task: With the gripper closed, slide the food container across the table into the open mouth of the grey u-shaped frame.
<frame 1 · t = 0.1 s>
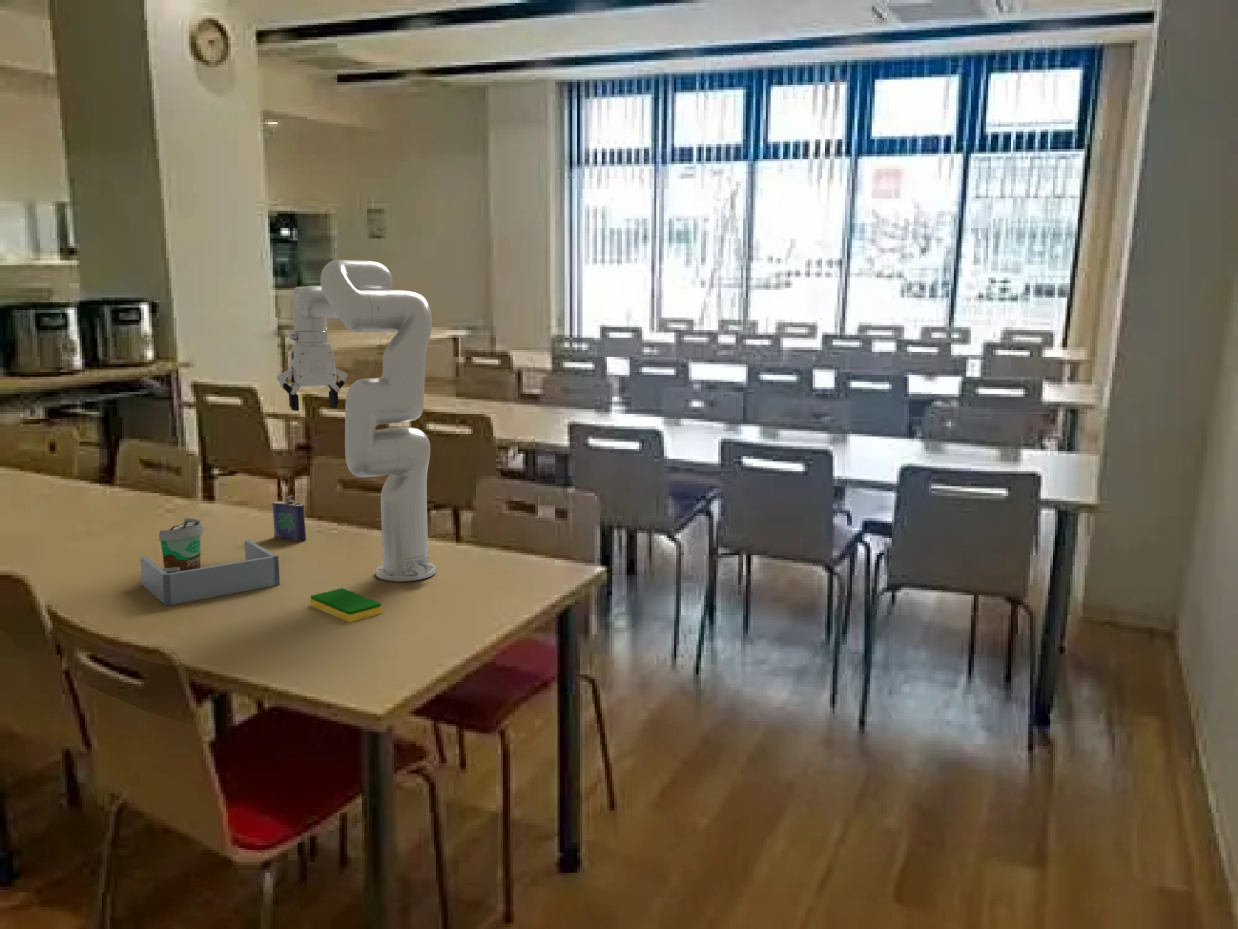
hand: (314, 409, 236), 31 cm above the table, fingers open, 9 cm apart
dish sponge: (346, 612, 184), on the table
grey u-shaped frame: (210, 584, 199), on the table
flask: (290, 539, 235), on the table
food container: (189, 570, 209), on the table
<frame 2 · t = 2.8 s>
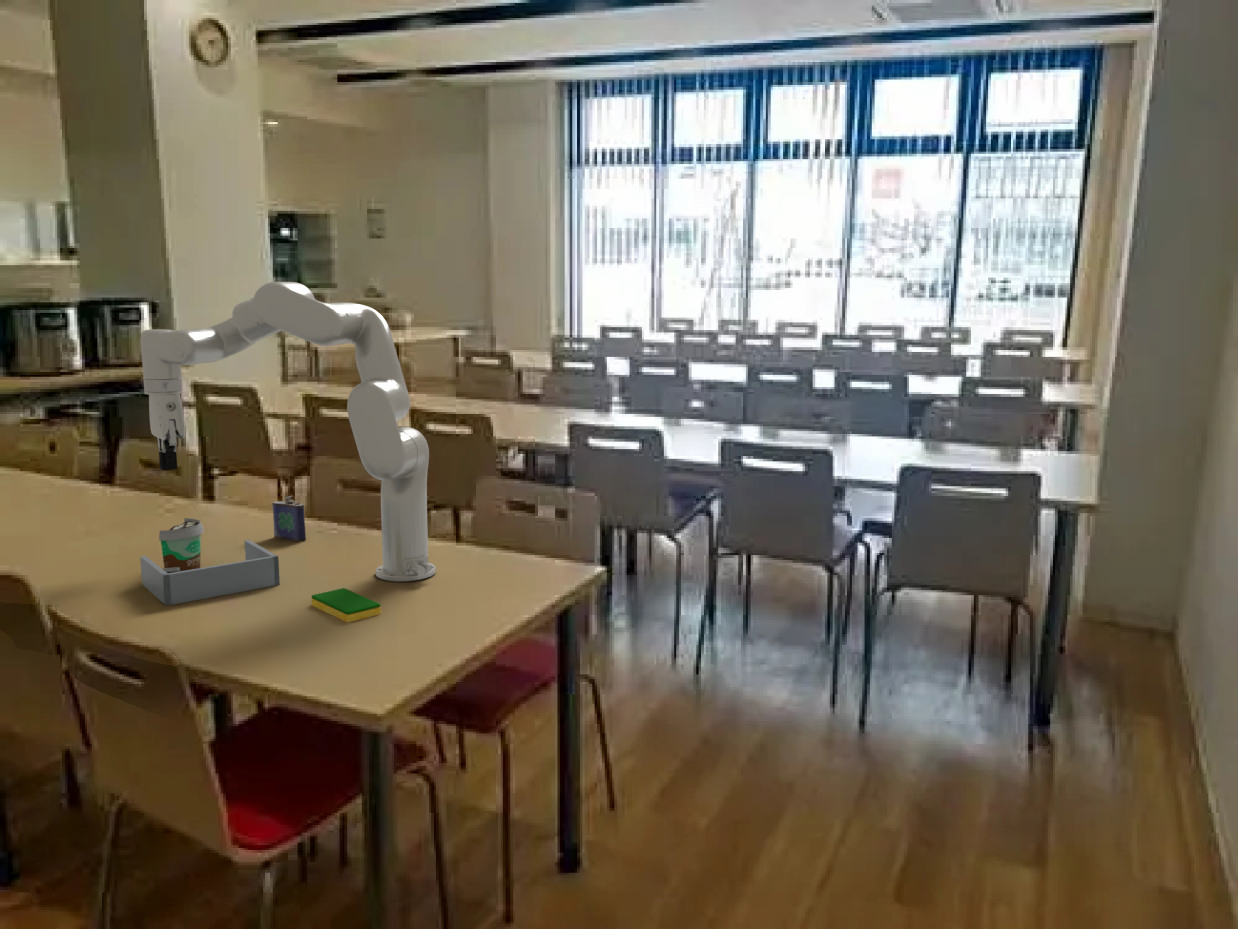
hand: (168, 469, 213), 21 cm above the table, fingers closed
nothing on the table moved.
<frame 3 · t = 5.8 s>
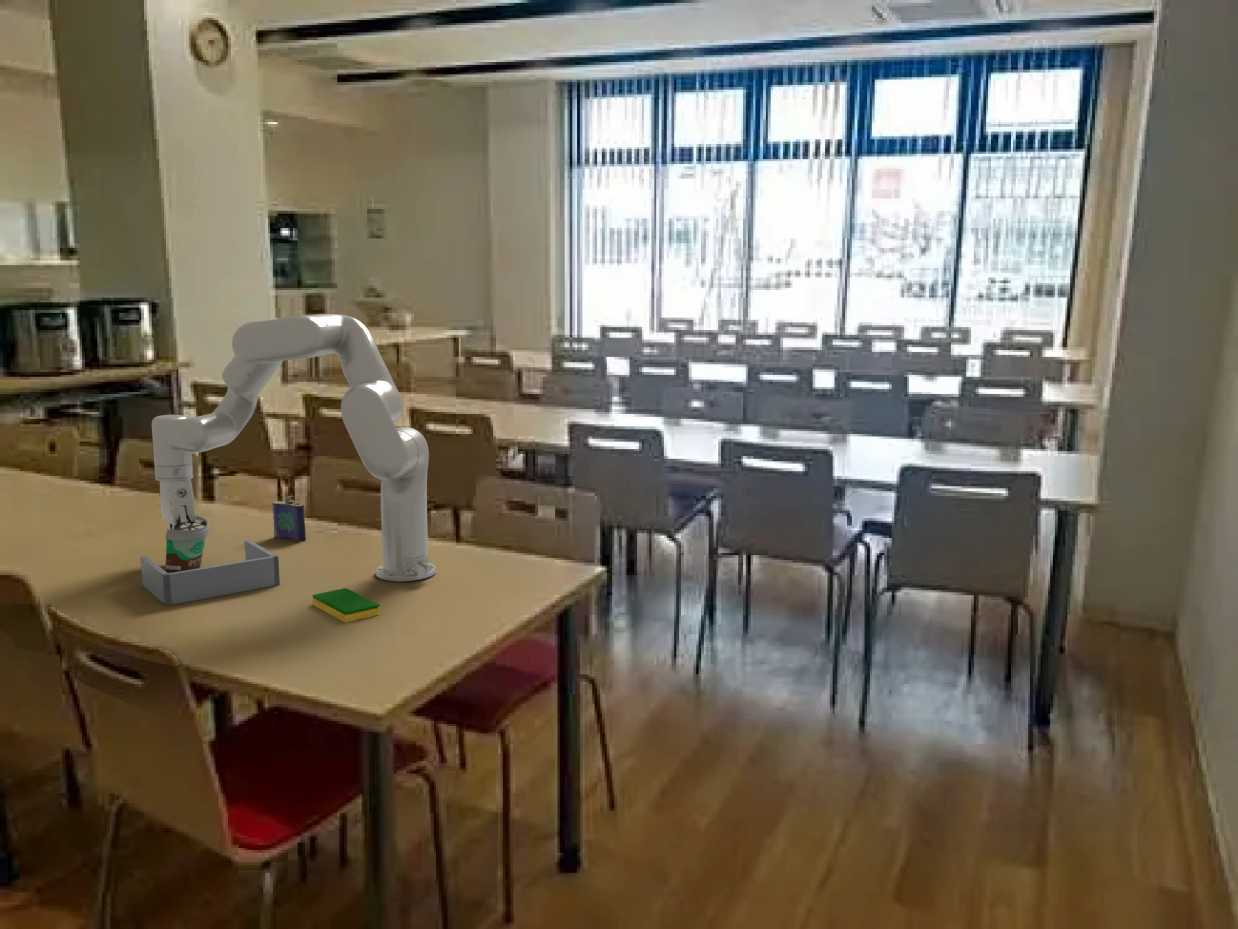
hand: (179, 552, 214), 2 cm above the table, fingers closed
food container: (189, 568, 209), on the table, touching gripper
everything else where it was.
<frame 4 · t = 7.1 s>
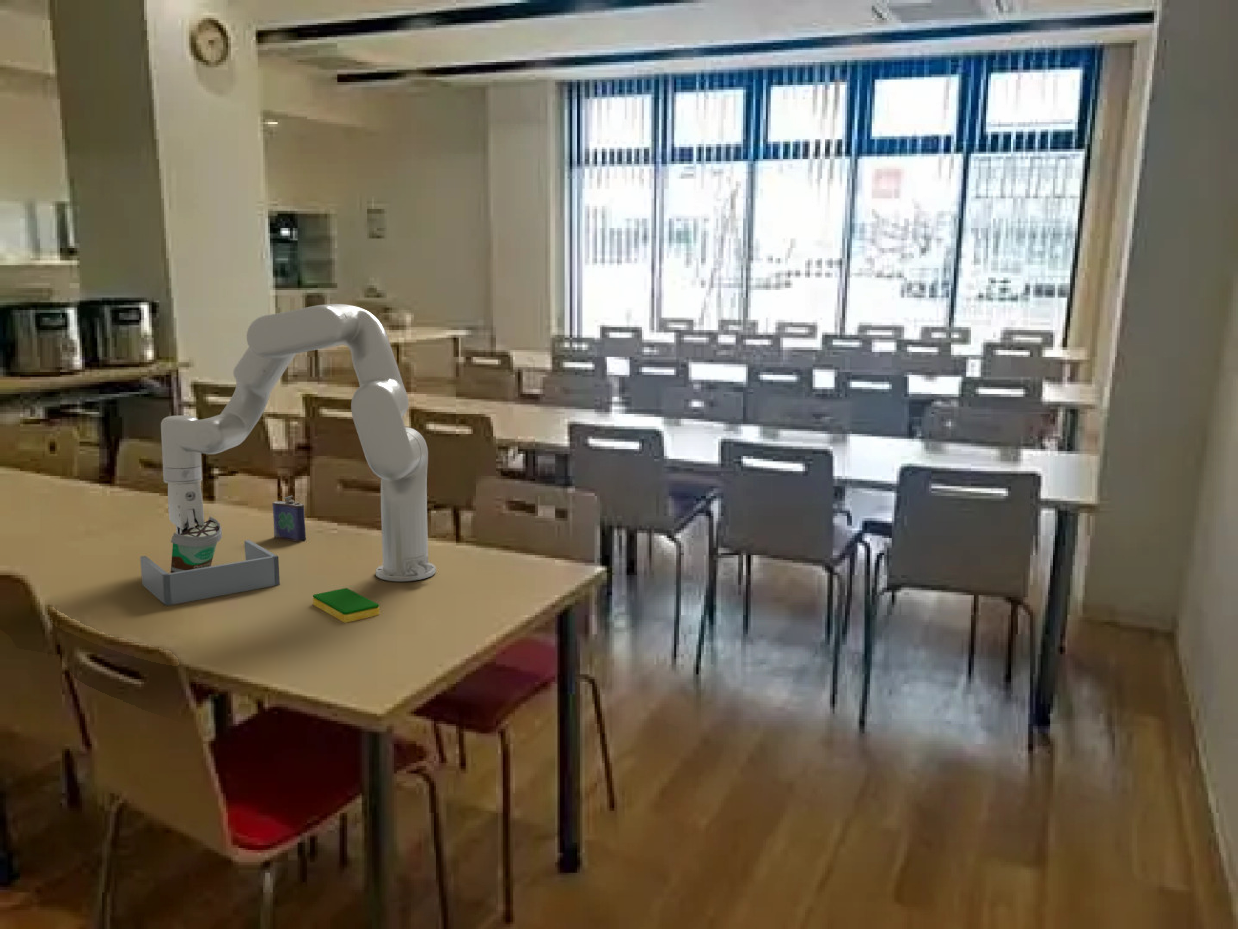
hand: (186, 557, 208), 3 cm above the table, fingers closed
food container: (197, 571, 206), on the table, touching gripper
everything else where it was.
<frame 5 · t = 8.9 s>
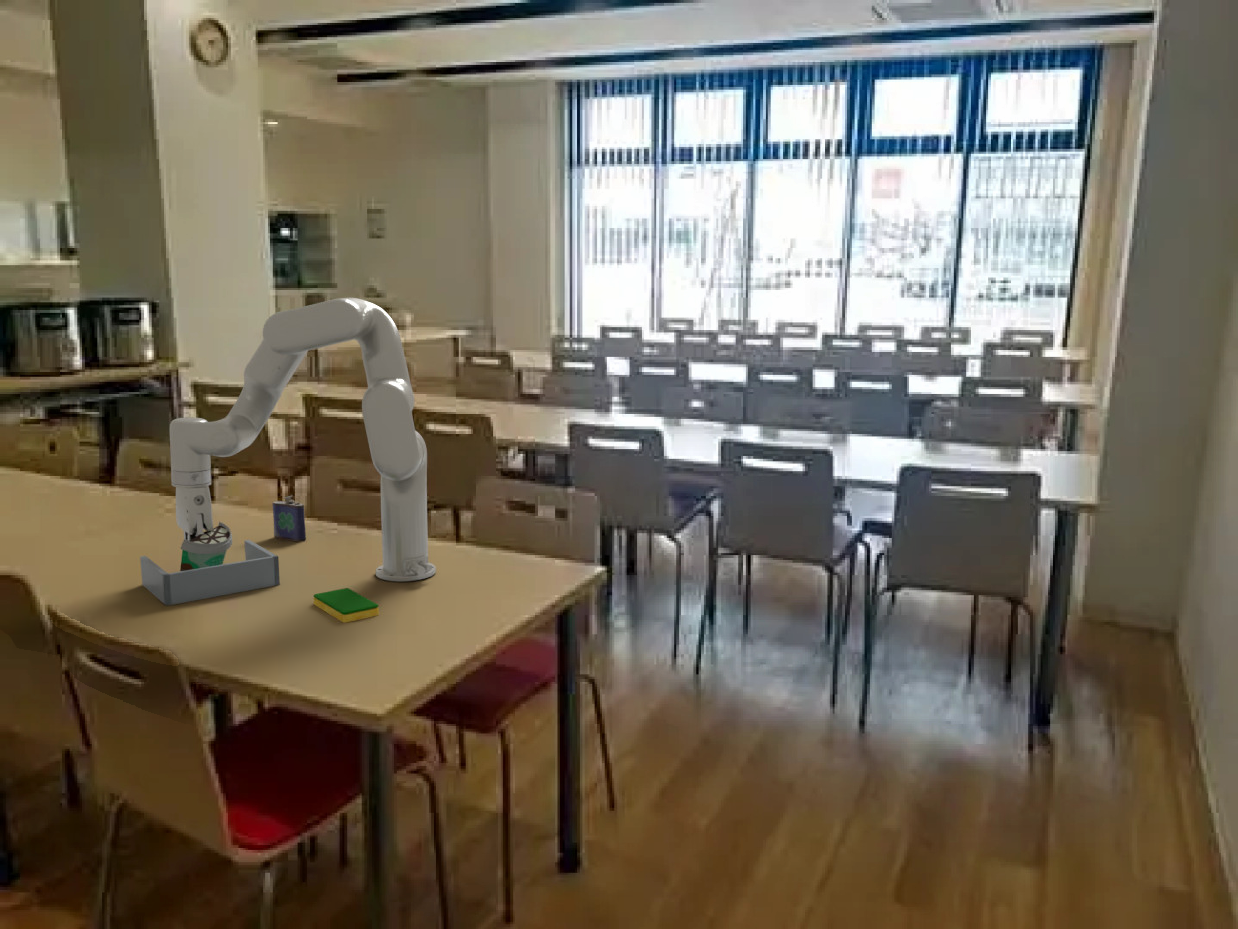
hand: (194, 563, 203), 3 cm above the table, fingers closed
food container: (206, 578, 201), on the table, touching gripper
everything else where it was.
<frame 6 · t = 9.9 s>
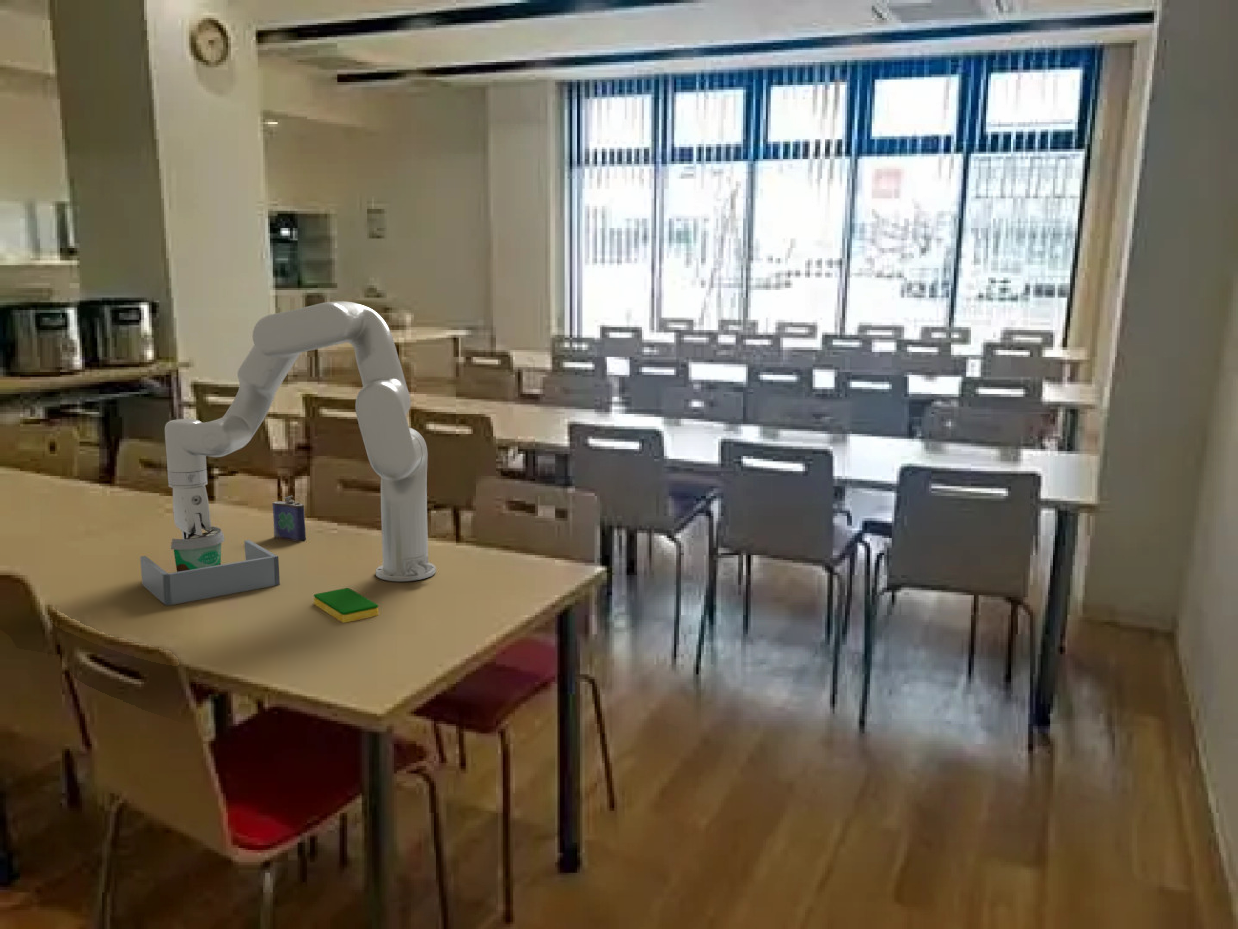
hand: (193, 562, 206), 2 cm above the table, fingers closed
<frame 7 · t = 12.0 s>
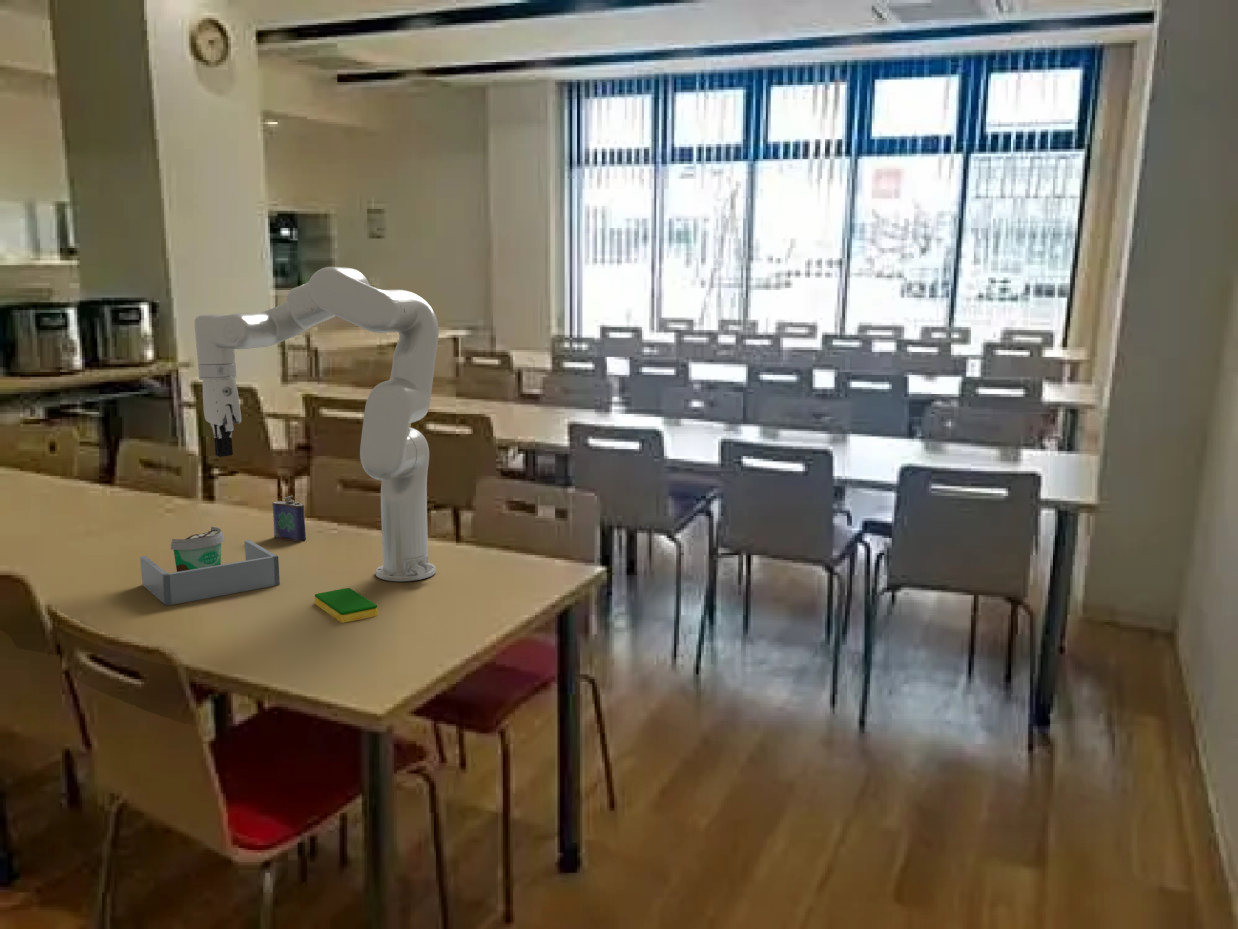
hand: (224, 455, 212), 24 cm above the table, fingers closed
food container: (207, 581, 201), on the table
everything else where it was.
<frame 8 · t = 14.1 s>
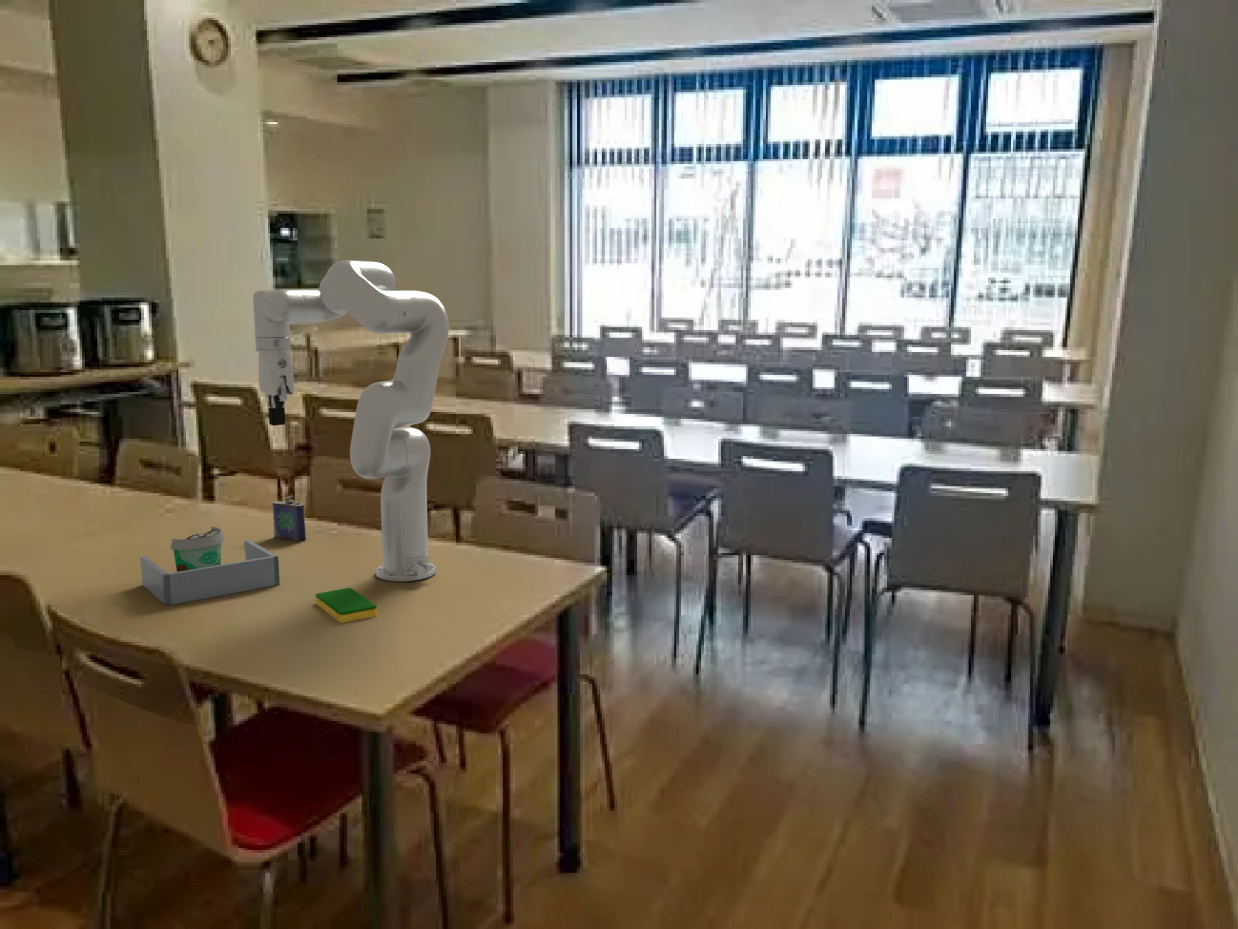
hand: (277, 424, 223), 29 cm above the table, fingers closed
nothing on the table moved.
at the end: food container inside the target area on the grey u-shaped frame (3.2 cm from its centre), point 0.0 cm above the grey u-shaped frame's base; food container tilted 0°; food container moved 10.8 cm from its start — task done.
